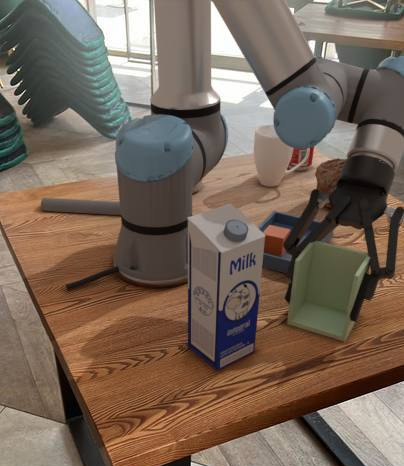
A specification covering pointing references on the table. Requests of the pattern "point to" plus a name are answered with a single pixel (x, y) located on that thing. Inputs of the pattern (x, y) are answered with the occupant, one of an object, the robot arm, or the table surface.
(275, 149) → the mug
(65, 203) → the half round rod
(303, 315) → the box
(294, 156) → the beverage can
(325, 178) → the decorative rock
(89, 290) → the table surface
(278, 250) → the block
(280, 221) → the tray
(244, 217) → the milk carton
